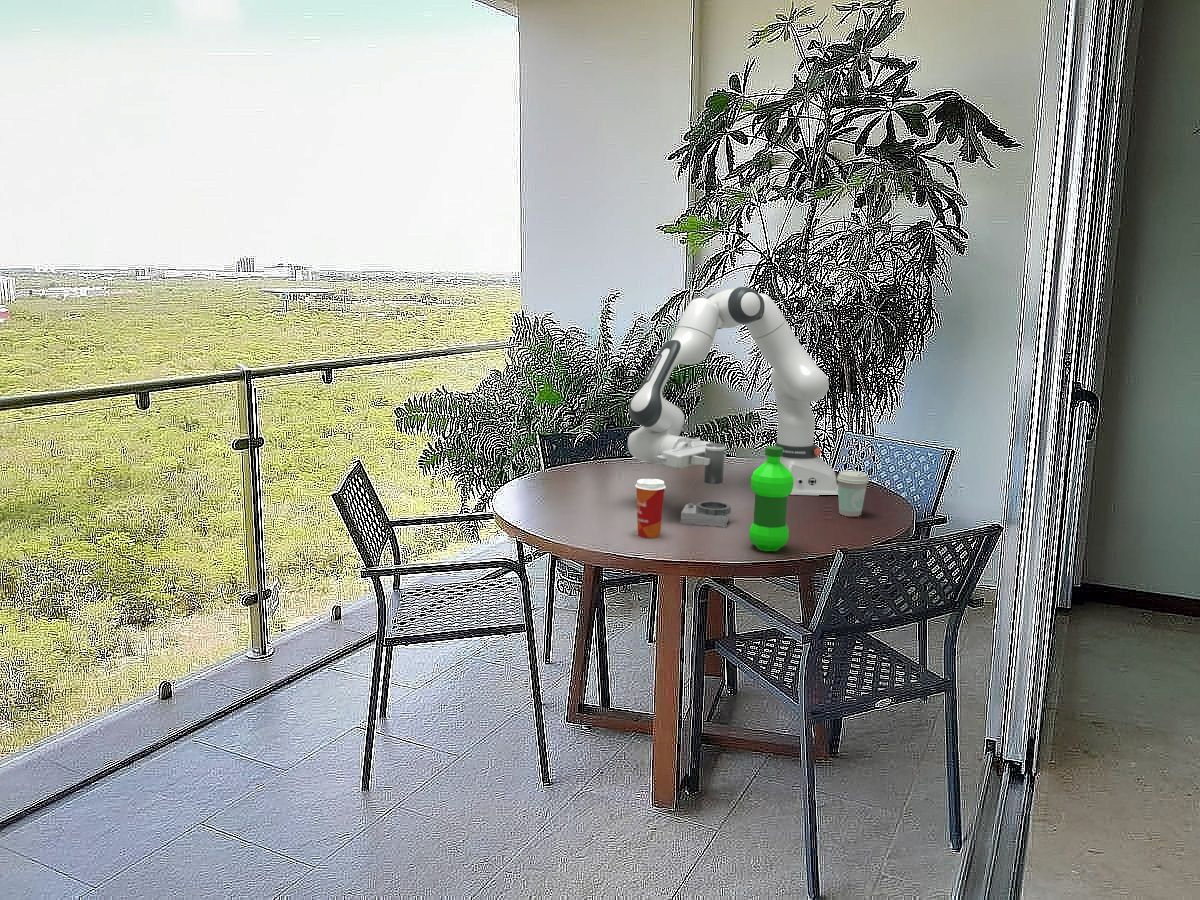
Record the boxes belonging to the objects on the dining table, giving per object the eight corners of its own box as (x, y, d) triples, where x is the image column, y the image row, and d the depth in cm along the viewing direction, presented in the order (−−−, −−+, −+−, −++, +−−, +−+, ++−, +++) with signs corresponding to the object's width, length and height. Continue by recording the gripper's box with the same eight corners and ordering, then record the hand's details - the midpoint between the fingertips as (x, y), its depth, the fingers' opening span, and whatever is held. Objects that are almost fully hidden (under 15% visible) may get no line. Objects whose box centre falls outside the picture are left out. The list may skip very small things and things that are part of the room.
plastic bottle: (795, 554, 222) (801, 452, 217) (751, 554, 221) (757, 451, 216) (783, 542, 232) (789, 444, 227) (742, 542, 231) (747, 443, 226)
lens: (724, 480, 249) (726, 443, 247) (722, 484, 244) (723, 447, 242) (705, 478, 250) (706, 442, 249) (702, 483, 246) (704, 446, 244)
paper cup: (632, 530, 239) (633, 477, 236) (661, 530, 239) (663, 477, 237) (635, 539, 231) (637, 485, 228) (666, 539, 232) (668, 485, 229)
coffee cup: (848, 520, 253) (852, 477, 251) (827, 513, 261) (830, 471, 258) (872, 517, 257) (875, 475, 255) (851, 510, 265) (854, 469, 262)
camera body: (731, 518, 252) (732, 502, 252) (727, 527, 244) (728, 510, 243) (685, 514, 255) (686, 499, 254) (680, 523, 247) (681, 507, 246)
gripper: (652, 445, 247) (693, 453, 238) (699, 436, 262) (740, 443, 252) (651, 468, 248) (692, 477, 239) (698, 458, 263) (739, 466, 253)
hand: (717, 460), depth 246 cm, fingers closed on lens, 5 cm apart
